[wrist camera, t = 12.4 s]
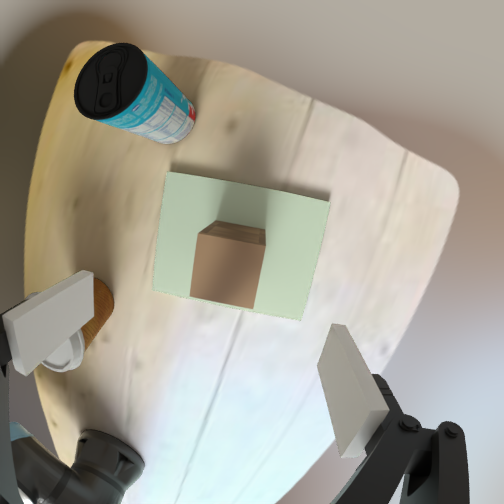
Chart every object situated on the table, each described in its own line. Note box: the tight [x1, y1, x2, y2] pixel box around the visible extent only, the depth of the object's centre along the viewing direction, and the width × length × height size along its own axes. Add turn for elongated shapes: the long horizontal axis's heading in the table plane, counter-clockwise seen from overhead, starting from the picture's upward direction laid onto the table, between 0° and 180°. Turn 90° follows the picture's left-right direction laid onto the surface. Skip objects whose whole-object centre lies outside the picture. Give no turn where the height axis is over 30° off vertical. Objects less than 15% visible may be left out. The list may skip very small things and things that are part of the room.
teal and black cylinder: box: [74, 43, 195, 144], centre depth 22 cm, size 6×6×15 cm
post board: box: [152, 171, 331, 321], centre depth 29 cm, size 18×14×7 cm
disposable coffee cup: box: [25, 278, 114, 372], centre depth 29 cm, size 10×10×12 cm
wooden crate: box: [190, 220, 266, 309], centre depth 27 cm, size 5×5×9 cm
